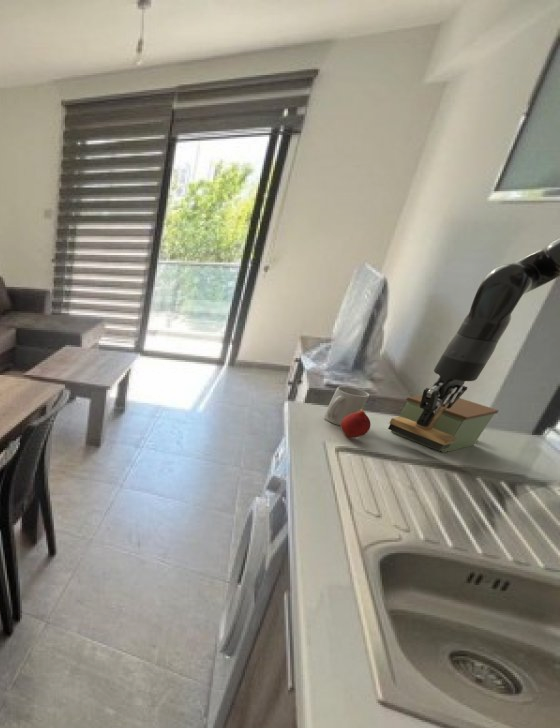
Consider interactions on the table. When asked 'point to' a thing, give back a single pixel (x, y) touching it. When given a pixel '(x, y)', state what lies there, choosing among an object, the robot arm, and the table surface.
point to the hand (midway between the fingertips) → (425, 424)
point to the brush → (422, 431)
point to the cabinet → (454, 420)
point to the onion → (355, 424)
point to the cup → (345, 403)
